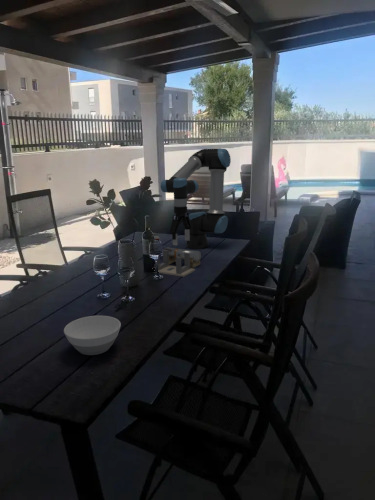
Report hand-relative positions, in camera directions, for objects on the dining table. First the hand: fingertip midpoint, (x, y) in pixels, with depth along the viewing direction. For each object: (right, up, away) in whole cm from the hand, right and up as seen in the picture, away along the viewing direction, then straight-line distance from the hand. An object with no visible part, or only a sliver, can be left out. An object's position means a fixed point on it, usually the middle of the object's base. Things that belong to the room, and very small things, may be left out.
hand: (181, 242), depth 248 cm
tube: (0, -10, +3) cm, 10 cm away
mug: (-17, -9, +18) cm, 27 cm away
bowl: (-29, -39, -96) cm, 108 cm away
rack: (0, -12, +4) cm, 13 cm away
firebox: (-5, -16, -9) cm, 19 cm away
